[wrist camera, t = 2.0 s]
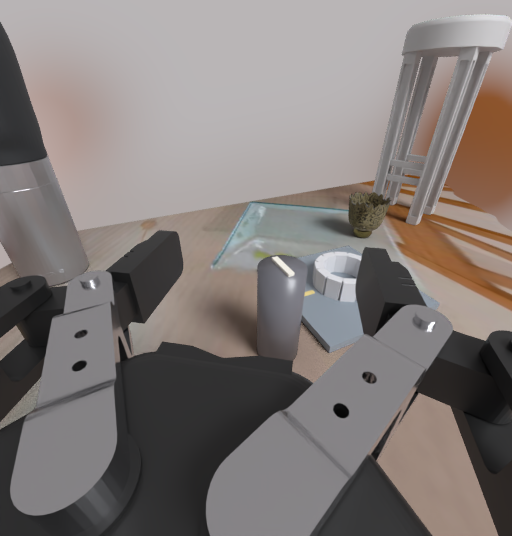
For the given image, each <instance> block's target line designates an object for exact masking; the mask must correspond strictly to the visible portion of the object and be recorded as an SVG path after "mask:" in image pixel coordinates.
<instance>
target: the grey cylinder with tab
mask: <svg viewBox="0 0 512 536" xmlns="http://www.w3.org/2000/svg"><path fill="white" fill-rule="evenodd" d="M307 271H308V269H307V266H306V264H305V263H304V262H303V261H301V260H300V259H297V258H295V257H292V256H286V255H275V256H270V257H267V258H265V259H263V260H261V261H260V262H259V264H258V286H257V352H258V355H259V356H263V357H270V358H277V359H284V360H290V361H293V360H294V359H295V357H296V355H297V350H298V342H299V334H300V326H301V318H302V311H303V303H304V295H305V287H306V279H307Z"/></svg>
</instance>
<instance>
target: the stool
mask: <svg viewBox="0 0 512 536" xmlns="http://www.w3.org/2000/svg"><path fill="white" fill-rule="evenodd" d="M511 27H512V20H511V19H510V18H509V17H508V16H502V15H489V14H488V15H487V14H481V15H464V16H453V17H447V18H440V19H433V20H429V21H426V22H422V23H419V24H416V25H413V26H412V27H411V28H410V29H409V31H408V32H407V35H406V39H405V44H404V48H403V52H402V55H404V59H403V63H402V68H401V72H400V76H399V81H398V85H397V89H396V93H395V98H394V102H393V106H392V110H391V115H390V119H389V124H388V128H387V132H386V136H385V140H384V145H383V149H382V153H381V158H380V162H379V166H378V170H377V174H376V179H375V183H374V187H373V191H372V193H373V192H375V193H377V194H378V195H381V194H382V195H383V199H384V197H385V193H386V189H387V185H388V181H389V180H390V183H389V187H388V191H387V195H386V199H387V198H389V197H390V200H391V203H390V205H394V204H396V202H397V199H398V195H399V192H400V188H401V185H402V183H406V184H411V185H416V186H417V188H416V192H415V195H414V198H413V201H412V204H411V207H410V210H409V213H408V217H407V220H406V223H409V224H412V225H417V224H418V223H420V220H421V217H422V214H423V213H424V214H428V215H431V214H432V213H433V212H434V210H435V207H436V204H437V202H438V199H439V196H440V194H441V191H442V188H443V185H444V183H445V180H446V177H447V175H448V172H449V169H450V166H451V164H452V161H453V159H454V156H455V153H456V151H457V148H458V145H459V142H460V140H461V137H462V134H463V132H464V129H465V126H466V124H467V121H468V118H469V116H470V113H471V110H472V107H473V105H474V102H475V99H476V97H477V94H478V91H479V88H480V86H481V83H482V81H483V78H484V75H485V72H486V70H487V67H488V64H489V62H490V59H491V56H492V53H493V52H496V51H499V50H503V48H504V45H505V43H506V40H507V38H508V35H509V33H510V30H511ZM451 56H459V57H458V60H457V64H456V67H455V70H454V73H453V76H452V79H451V82H450V85H449V89H448V92H447V95H446V98H445V101H444V105H443V107H442V111H441V114H440V117H439V120H438V123H437V126H436V129H435V132H434V136H433V139H432V142H431V145H430V148H429V151H428V155H427V157H426V156H418V155H411V150H412V147H413V143H414V140H415V136H416V133H417V129H418V126H419V122H420V119H421V115H422V112H423V108H424V105H425V102H426V98H427V95H428V91H429V88H430V84H431V81H432V77H433V74H434V70H435V67H436V64H437V60H438V57H451ZM421 57H423V59H422V63H421V66H420V70H419V74H418V77H417V81H416V85H415V89H414V93H413V96H412V100H411V104H410V108H409V112H408V115H407V119H406V123H405V127H404V131H403V135H402V138H401V142H400V146H399V149H398V153H397V157H396V160H394V158H395V155H396V151H397V147H398V143H399V139H400V135H401V132H402V128H403V124H404V120H405V116H406V112H407V108H408V105H409V101H410V97H411V93H412V90H413V86H414V82H415V78H416V74H417V70H418V66H419V63H420V59H421ZM409 160H411V161H417V162H425V163H424V164H421V163H414V162H408V161H409ZM392 166H394V168H393V172H392V174H391V170H392ZM404 174H411V175H417V176H420V179H416V178H410V177H405V176H404ZM386 199H385V200H386Z"/></svg>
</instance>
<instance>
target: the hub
mask: <svg viewBox="0 0 512 536" xmlns="http://www.w3.org/2000/svg"><path fill="white" fill-rule="evenodd" d="M361 258H362V254H361V253H360V252H358V251H356V250H355V249H353V248H352V247H350V246H345V247H341V248H337V249H333V250H329V251H324V252H320V253H316V254H312V255H308V256H304V257H300V258H297V259H300V260H301V261H303V262H304V263H305V264H306V266H307V269H308V271H307V279H306V287H305V295H304V303H303V311H302V318H301V321H302V322H303V323H304V324H305V325H306V327H307V328H308V329H309V330H310V331H311V333H312V334H313V335H314V336H315V337H316V338H317V340H318V341H319V342H320V343H321V344H322V345H323V347H324V348H325V349H326V350H327V351H328V352H329V353H330V352H333V351H335V350H338V349H340V348H343V347H345V346H348V345H350V344H352V343H355V342H357V341H358V340H359V339H360V338H361V337H362V336H363V335H364V333H363V328H362V323H361V318H360V314H359V309H358V304H357V299H356V293H355V286H356V279H357V275H358V271H359V266H360V262H361ZM419 292H420V294H421V296H422V298H423V300H424V301H425V303H426V305H427V307H429V308H432V309H434V310H436V309H437V308H438V306H439V304H440V303H439V302H437V301H436V300H434V299H432V298H431V297H429V296H428V295H426V294H424V293H423V292H421V291H420V290H419Z"/></svg>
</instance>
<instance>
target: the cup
mask: <svg viewBox="0 0 512 536" xmlns="http://www.w3.org/2000/svg"><path fill="white" fill-rule="evenodd" d="M390 203H391V200H390V197H389V198H387V199H386V200H385V199H383V195H382V194H381V195H378V194H377V193H375V192H373V193H371V194H370V195H368V194H367V192H365V193H364V195H362V193H361V192H359V193H358V194H357V192H356V193H355V194H354V196H353V195H352V194H351V196H350V201H349V222H350V224H351V226H352V227H354V229H353V233H354V235H355V236H357V237H361V238H366V237H369V236H370V235H371V234H372V230H375V229H377V228H378V227H379V226H380V225H381V223H382V221H383V219H384V217H385V215H386V212H387V210H388V207H389V205H390Z"/></svg>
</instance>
